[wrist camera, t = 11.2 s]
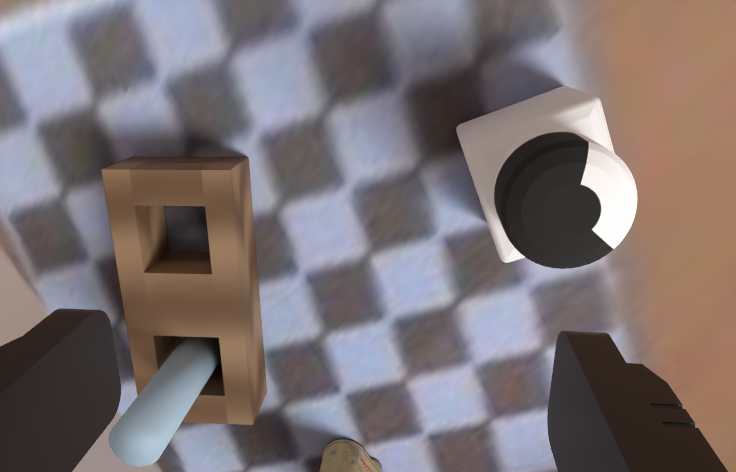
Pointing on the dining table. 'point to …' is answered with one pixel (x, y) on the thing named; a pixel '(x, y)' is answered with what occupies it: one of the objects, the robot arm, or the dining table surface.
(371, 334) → the dining table surface
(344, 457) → the lighter
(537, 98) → the medicine bottle
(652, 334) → the dining table surface
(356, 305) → the dining table surface
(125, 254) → the socket block
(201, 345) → the peg
